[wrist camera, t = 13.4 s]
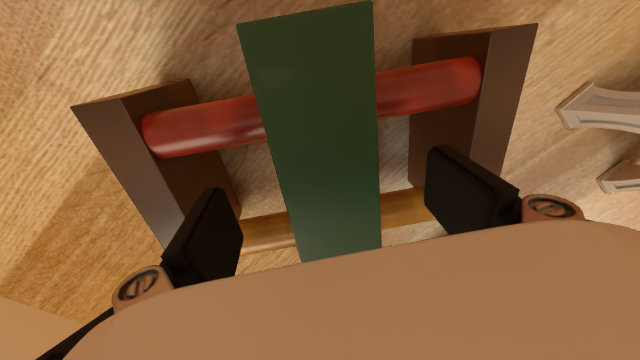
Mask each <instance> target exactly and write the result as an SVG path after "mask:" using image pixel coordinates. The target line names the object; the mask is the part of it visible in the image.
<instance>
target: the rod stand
mask: <svg viewBox="0 0 640 360" xmlns="http://www.w3.org/2000/svg"><path fill="white" fill-rule="evenodd" d="M537 29H538V23H532V24H523V25H514V26H505V27H496V28H487V29H478V30H469V31H460V32H451V33H442V34H436V35H430V36H425V37H419V38H414V39H413V47H412V66H407V67H402V68H396V69H391V70H385V71H379V72H375V77H376V105H377V120H382V119H388V118H393V117H399V116H404V115H409V114H410V135H409V164H408V181H409V182H410V183H411V184H412V185H413V187H414V188H409V189H403V190H398V191H393V192H387V193H382V194H380V216H381V230H383V229H388V228H394V227H399V226H404V225H410V224H415V223H420V222H426V221H431V220H436V218H435V217H434V216H433V215H432V214H431V212H430V211H429V210H428V209H427V208H426V206H425V204H424V188H425V176H426V163H427V153H428V151H429V150H431V148H432V147H433V146H439V145H444V144H447V145H449V146H450V147H452V148H453V149H455V150H457V151H458V152H460V153H462V154H463V155H465V156H466V157H468V158H470V159H471V160H473V161H474V162H476V163H478V164H479V165H481V166H482V167H484V168H486V169H487V170H489V171H490V172H492V173H494V174H495V175H497V176H498V177H500V174H501V170H502V166H503V162H504V158H505V154H506V151H507V147H508V143H509V139H510V135H511V131H512V127H513V123H514V119H515V115H516V111H517V107H518V103H519V99H520V95H521V91H522V88H523V84H524V80H525V76H526V72H527V68H528V64H529V60H530V56H531V52H532V48H533V44H534V40H535V36H536V32H537ZM70 108H71V110H72V111H73V113H74V114H75V116H76V117H77V119H78V120H79V122H80V123H81V125H82V126H83V128H84V129H85V131H86V132H87V134H88V135H89V137H90V138H91V140H92V141H93V143H94V144H95V146H96V147H97V149H98V150H99V152H100V153H101V155H102V156H103V158H104V159H105V161H106V162H107V164H108V165H109V167H110V168H111V170H112V171H113V173H114V174H115V176H116V177H117V179H118V180H119V182H120V183H121V185H122V186H123V188H124V189H125V191H126V192H127V194H128V195H129V197H130V198H131V200H132V201H133V203H134V205H135V206H136V208H137V209H138V211H139V212H140V214H141V215H142V217H143V218H144V220H145V221H146V223H147V224H148V226H149V227H150V229H151V230H152V232H153V233H154V235H155V236H156V238H157V239H158V241H159V242H160V244H161V245H162V247H163V248H164V250H165V249H166V247H167V246H168V244H169V243H170V241H171V240H172V238H173V236H174V235H175V233H176V232H177V230H178V229H179V227H180V225H181V224H182V222H183V221H184V219H185V218H186V216H187V214H188V213H189V211H190V210H191V208H192V207H193V205H194V203H195V202H196V200H197V199H198V197H199V196H200V194H201V192H202V191H203V189H205V188H210V187H216V186H218V187H219V188H220V189H222V188H223V189H224V190H225V192H226V194H227V197H228V199H229V202H230V204H231V206H232V209H233V211H234V213H235V216H236V218H237V221H238V223H239V225H240V228H241V230H242V232H243V237H244V240H243V245H242V248H241V252H240V256H245V255H250V254H255V253H261V252H266V251H271V250H276V249H282V248H287V247H292V246H297V244H296V241H295V237H294V234H293V230H292V226H291V223H290V219H289V216H288V212H287V211H285V212H280V213H274V214H269V215H264V216H258V217H253V218H247V219H242V220H239V218H240V215H241V212H242V211H241V208H240V206H239V203H238V200H237V198H236V195H235V193H234V190H233V188H232V185H231V183H230V180H229V178H228V175H227V173H226V170H225V168H224V165H223V163H222V160H221V158H220V155H219V153H218V150H217V149H223V148H228V147H234V146H239V145H245V144H250V143H256V142H261V141H267V137H266V133H265V130H264V126H263V122H262V119H261V115H260V112H259V108H258V105H257V101H256V97H255V94H252V95H246V96H240V97H235V98H229V99H224V100H218V101H213V102H207V103H201V104H199V102H198V100H197V97H196V95H195V92H194V90H193V87H192V85H191V82H190V80H189V79H184V80H178V81H173V82H167V83H161V84H157V85H153V86H149V87H145V88H141V89H137V90H133V91H129V92H125V93H122V94H118V95H114V96H110V97H106V98H102V99H98V100H94V101H90V102H86V103H82V104H78V105H74V106H71V107H70Z"/></svg>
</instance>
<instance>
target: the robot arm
mask: <svg viewBox="0 0 640 360" xmlns="http://www.w3.org/2000/svg"><path fill="white" fill-rule="evenodd" d="M518 194H519V189H518V188H516V187H514V186H513V185H511V184H510V183H508V182H506V181H505V180H503V179H502V178H500V177H498V176H497V175H495V174H494V173H492V172H490V171H489V170H487V169H486V168H484V167H482V166H481V165H479V164H478V163H476V162H474V161H473V160H471V159H470V158H468V157H466V156H465V155H463V154H462V153H460V152H458V151H457V150H455V149H453V148H452V147H450V146H449V145H447V144H444V145H439V146H433V147H432V148H431V150H429V151H428V153H427V163H426V176H425V188H424V204H425V206H426V208H427V209H428V210H429V211H430V212H431V214H432V215H433V216H434V217H435V218H436V219H437V221H438V222H439V223H440V224H441V225H442V227H443V228H444V229H445V230H446V231H447V233H448V234H449V236H444V237H438V238H433V239H427V240H422V241H417V242H411V243H406V244H400V245H395V246H389V247H384V248H379V249H373V250H368V251H363V252H357V253H352V254H347V255H341V256H336V257H331V258H326V259H320V260H315V261H310V262H305V263H299V264H294V265H289V266H284V267H279V268H274V269H268V270H263V271H258V272H253V273H248V274H243V275H238V276H234V275H235V272H236V268H237V264H238V260H239V256H240V252H241V248H242V245H243V240H244V237H243V232H242V230H241V228H240V225H239V223H238V221H237V218H236V216H235V213H234V211H233V209H232V206H231V204H230V202H229V199H228V197H227V194H226V192H225V190H224V189H223V188H222V189H220V188H219V187H218V186H216V187H210V188H205V189H203V191H202V192H201V194H200V196H199V197H198V199H197V200H196V202H195V203H194V205H193V207H192V208H191V210H190V211H189V213H188V214H187V216H186V218H185V219H184V221H183V222H182V224H181V225H180V227H179V229H178V230H177V232H176V233H175V235H174V236H173V238H172V240H171V241H170V243H169V244H168V246H167V247H166V249H165V251H164V252H163V254H162V255H161V258H162V259H163V260H162V262H161V263H160V265H159V266H158V265H152V266H147V267H144V268H142V269H140V270H138V271H136V272H134V273H132V274H131V275H129V276H128V277H127V278H126V279H124V280H123V281H122V282H121V283H120V284H119V285H118V287H117V288H116V289H115V291H114V293H113V295H112V305H113V307H111V308H110V309H108V310H107V311H105V312H104V313H103V314H101V315H100V316H98V317H97V318H95V319H94V320H92V321H91V322H89V323H88V324H87V325H85V326H84V327H82V328H81V329H79V330H78V331H76V332H75V333H73V334H72V335H70V336H69V337H68V338H66V339H65V340H63V341H62V342H60V343H59V344H58V345H56V346H55V347H53V348H52V349H50V350H49V351H47V352H46V353H44V354H43V355H42V356H40V357H39V358H37V359H36V360H640V231H637V230H634V229H631V228H628V227H624V226H620V225H615V224H609V223H602V222H595V221H591V220H586V219H585V218H584V215H583V212H582V210H581V209H580V208H579V207H578V206H577V205H575V204H574V203H572V202H570V201H568V200H566V199H563V198H560V197H557V196H552V195H546V194H532V195H528V196H525V197H524V198H523V199H521V198H520V197H518Z"/></svg>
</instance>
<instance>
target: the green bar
mask: <svg viewBox="0 0 640 360" xmlns="http://www.w3.org/2000/svg"><path fill="white" fill-rule="evenodd" d="M236 29H237V33H238V37H239V40H240V44H241V47H242V51H243V54H244V58H245V62H246V65H247V69H248V72H249V76H250V80H251V83H252V87H253V90H254V94H255V97H256V101H257V105H258V108H259V112H260V115H261V119H262V122H263V126H264V130H265V133H266V137H267V140H268V144H269V148H270V151H271V155H272V158H273V162H274V165H275V169H276V173H277V176H278V180H279V183H280V187H281V191H282V194H283V198H284V201H285V205H286V208H287V212H288V216H289V219H290V223H291V226H292V230H293V234H294V237H295V241H296V244H297V248H298V251H299V255H300V259H301V262H302V263H305V262H310V261H315V260H320V259H326V258H331V257H336V256H341V255H347V254H352V253H357V252H363V251H368V250H373V249H379V248H382V243H381V216H380V188H379V160H378V133H377V105H376V77H375V50H374V22H373V2H372V1H371V0H367V1H362V2H356V3H350V4H345V5H339V6H334V7H328V8H322V9H317V10H311V11H305V12H300V13H294V14H288V15H283V16H277V17H272V18H266V19H260V20H255V21H249V22H243V23H238V24H236Z"/></svg>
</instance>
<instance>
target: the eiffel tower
mask: <svg viewBox="0 0 640 360" xmlns="http://www.w3.org/2000/svg"><path fill="white" fill-rule="evenodd" d="M555 109H556V111H557V113H558V115H559V116H560V118H561V120H562V121H563V123H564V125H565V126H566V128H567V129H569V130H573V129H574V128H575V127H596V128H609V129H617V130H623V131H628V132H633V133H637V134H640V92H626V91H615V90H608V89H603V88H598V87H596V86H595V84H594V82H587V83H586V84H584V85H583V86H582V87H581V88H580V89H578V90H577V91H576V92H575V93H574V94H572V95H571V96H570V97H569V98H567V99H566V100H565V101H564V102H563V103H561V104H560V105H559V106H558V107H557V108H555ZM597 181H598V183H599V184H600V186H601V188H602V190H603V191H604V193H606V194H608V195H610V194H611V193H617V192H629V191H640V165H633V164H631V162H630V161H628V160H623V161H622V162H620V163H619V164H617V165H616V166H615V167H613V168H612V169H610V170H609V171H607V172H606V173H604V174H603V175H602V176H600V177H599V178H597Z"/></svg>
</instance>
